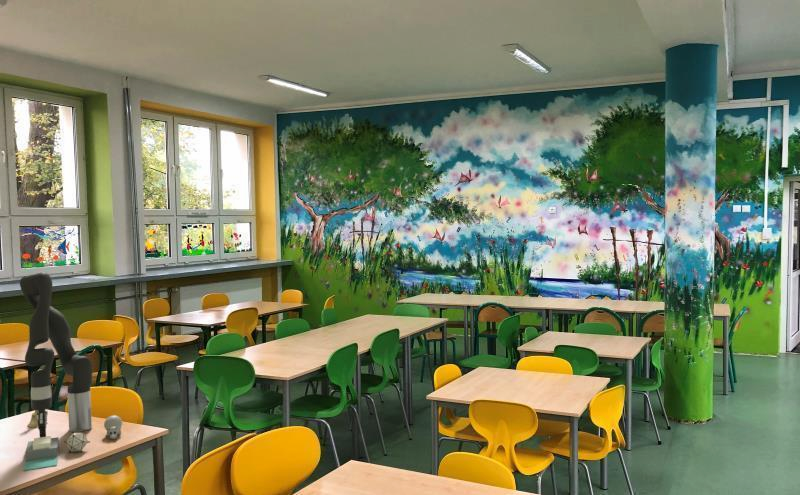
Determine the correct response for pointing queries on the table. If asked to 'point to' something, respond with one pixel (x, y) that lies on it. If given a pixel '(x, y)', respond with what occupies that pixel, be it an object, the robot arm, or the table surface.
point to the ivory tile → (42, 442)
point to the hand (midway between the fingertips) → (42, 438)
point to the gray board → (42, 451)
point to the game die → (77, 441)
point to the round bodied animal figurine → (113, 426)
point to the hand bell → (33, 420)
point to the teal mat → (40, 463)
